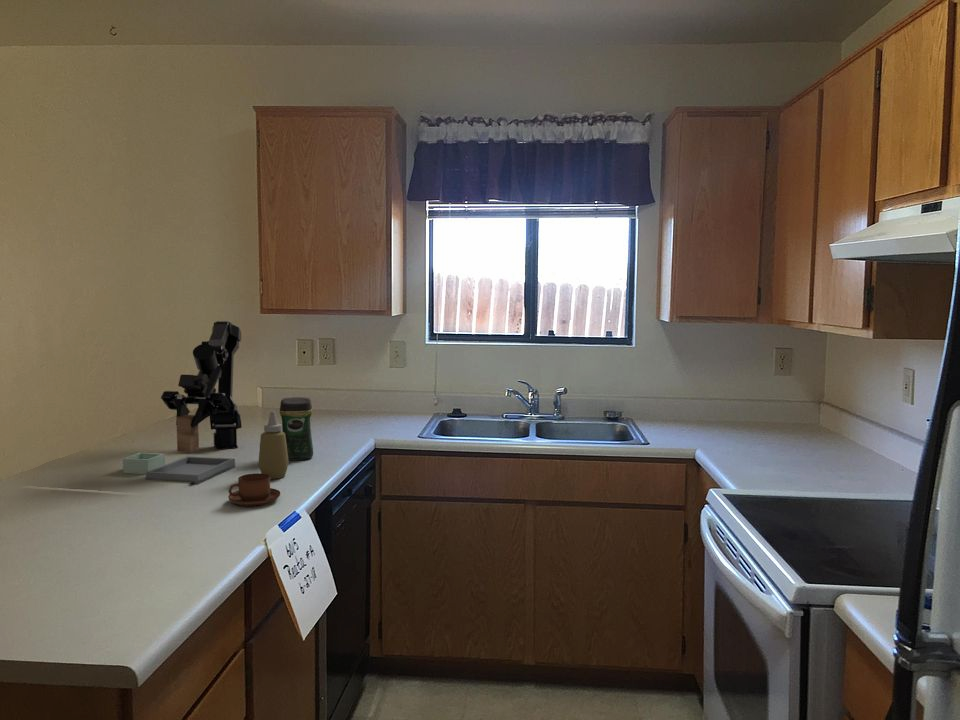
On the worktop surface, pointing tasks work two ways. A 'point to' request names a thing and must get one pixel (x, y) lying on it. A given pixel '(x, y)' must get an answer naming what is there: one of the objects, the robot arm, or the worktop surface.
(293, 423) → the coffee jar
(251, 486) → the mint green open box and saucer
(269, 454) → the squeeze bottle
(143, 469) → the mint green open box
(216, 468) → the tray
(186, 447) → the square block
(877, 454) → the worktop surface
